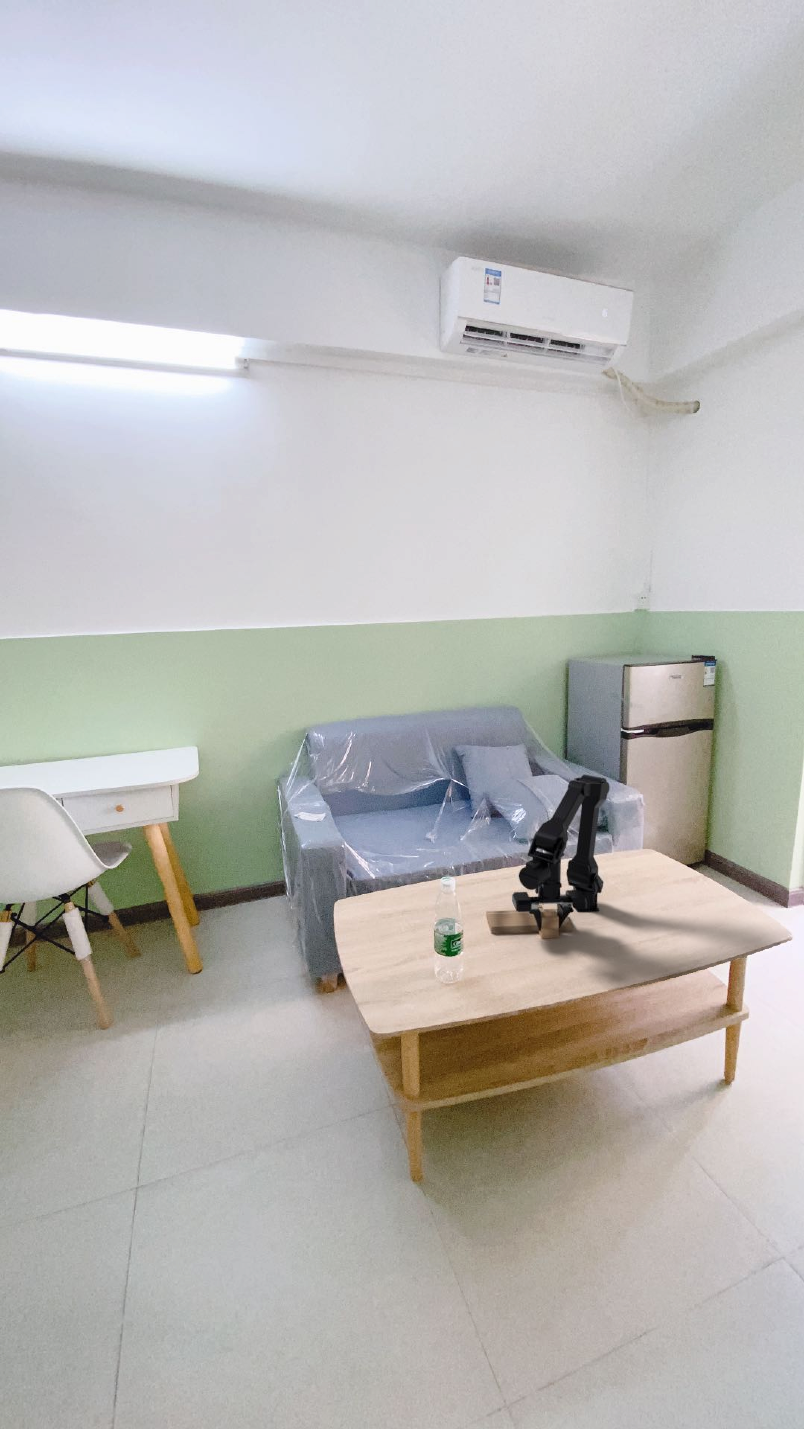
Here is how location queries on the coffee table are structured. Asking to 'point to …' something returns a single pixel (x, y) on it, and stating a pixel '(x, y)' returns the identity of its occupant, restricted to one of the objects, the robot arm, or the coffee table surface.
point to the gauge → (549, 923)
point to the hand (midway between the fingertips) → (548, 929)
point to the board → (517, 922)
